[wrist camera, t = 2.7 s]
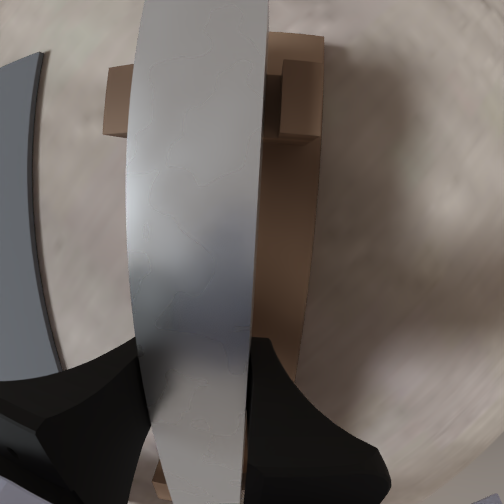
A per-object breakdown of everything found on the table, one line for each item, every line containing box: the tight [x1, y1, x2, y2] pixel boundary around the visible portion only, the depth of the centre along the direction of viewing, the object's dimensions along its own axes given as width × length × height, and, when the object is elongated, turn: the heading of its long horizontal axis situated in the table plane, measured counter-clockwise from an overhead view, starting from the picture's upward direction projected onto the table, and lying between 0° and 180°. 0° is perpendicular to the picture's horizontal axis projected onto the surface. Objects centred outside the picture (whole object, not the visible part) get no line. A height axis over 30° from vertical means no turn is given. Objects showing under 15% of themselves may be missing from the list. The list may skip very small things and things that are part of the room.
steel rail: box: [126, 0, 269, 504], centre depth 9 cm, size 22×3×2 cm, turn 177°
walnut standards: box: [103, 32, 324, 501], centre depth 11 cm, size 24×7×4 cm, turn 177°
